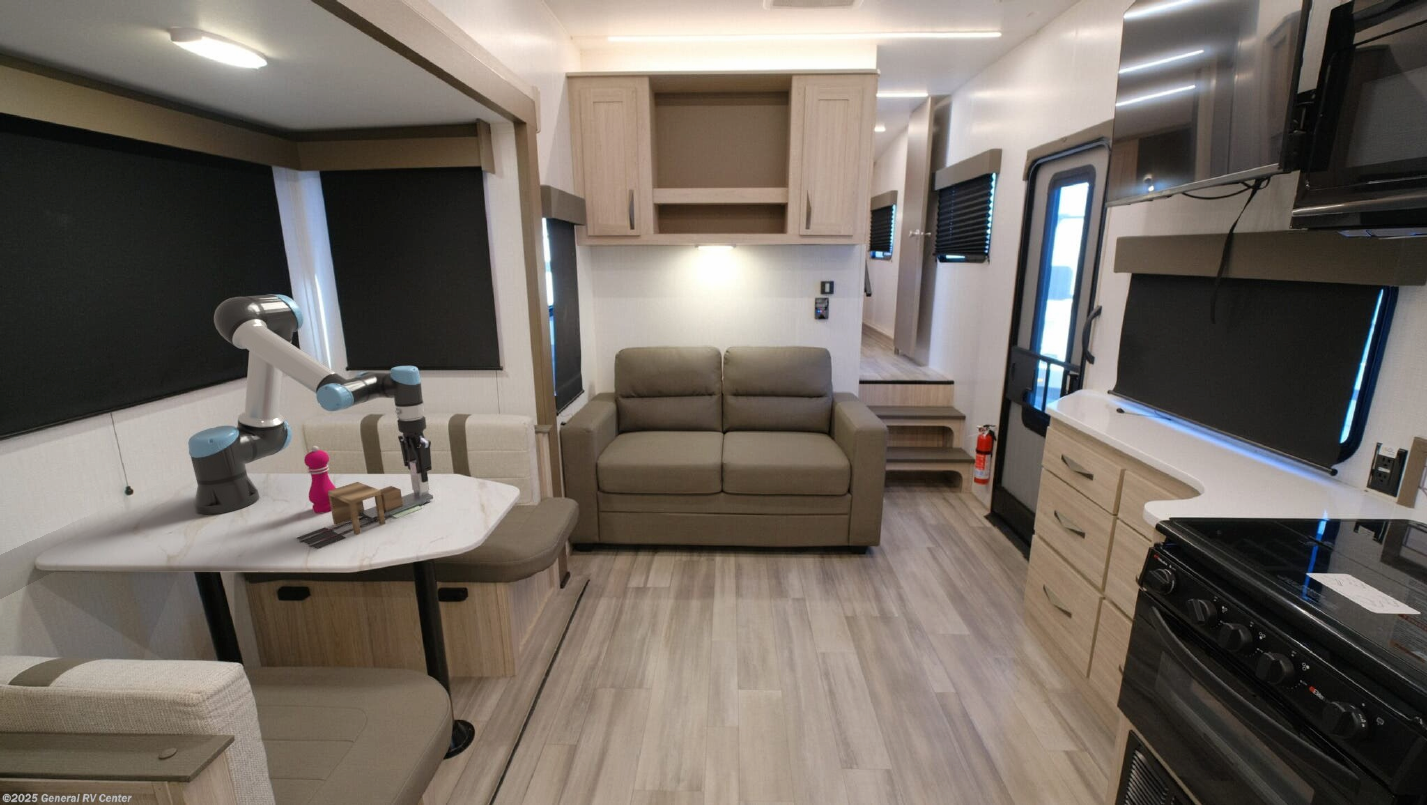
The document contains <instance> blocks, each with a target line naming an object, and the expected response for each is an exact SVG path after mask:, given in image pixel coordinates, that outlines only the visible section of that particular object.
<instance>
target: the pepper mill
mask: <svg viewBox="0 0 1427 805" xmlns="http://www.w3.org/2000/svg"><path fill="white" fill-rule="evenodd" d="M310 450H311V451H309V452H308V453H306V455H305V456H304V462H303V463H304V464H305V466H307V467H308V468H307V470H308V473H309V474H310V476H311V485H310V488H309V492H308V500H309V502H310V503H312V505H311V506H312V510H313V512H314V513H316V514H325V513H329V512H332V511H331V506H330V500H329V495H328V491H330V490H333V489H336V486H335V485H334V484H333V482H332V481H331V479H330V477H329V470H330V468H329V464H328V463H329V462H330V456H329V454H328V453H327V452H326V451H324V450H320V448H319V446H317V445H313V446H311V448H310Z"/></svg>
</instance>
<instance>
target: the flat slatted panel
mask: <svg viewBox="0 0 1427 805" xmlns="http://www.w3.org/2000/svg"><path fill="white" fill-rule="evenodd" d="M328 529H329V528H327V527H325V526H324V527H322V528H319V529H316V530H313V531H310V532H308V533H305V534H302V535H300V536H297V537H296V539H297V540H301V539H303V538H306V537H309V536H312V535H314V534H317V533H320V532H322V531H325V530H328ZM336 534H339V533H338V532H336V531H335V530H333V531H332V530H330V531H328V532H325V533H322V534H320V535H317V536H314V537H312V538H309V539H306V540H303V542H302V543H305V544H307V545H309V544H312V543H315V542H317V541H320V540H323V539H325V538H328V537H331V536H333V535H336ZM346 538H347V537H346V536H345V535H339V536H336V537H333V538H331V539H328V540H325V541H323V542H320V543H318V544H315V545H312V546H313V548H315V549H317V550H319V549H321V548H324V547H326V546H327V547H328V546H329V545H331V544H333V543H337V542H339V541H342V540H345V539H346Z"/></svg>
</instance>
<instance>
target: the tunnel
mask: <svg viewBox="0 0 1427 805" xmlns="http://www.w3.org/2000/svg"><path fill="white" fill-rule="evenodd" d="M328 495H329V500H330V506H331V511H330V512H331V516H332V522H333V526H339V525H341V524H344V523H347V522H350V521H352V524H351V525H352V528H353V531H352V532H353V534H354V535H356V536H357V535H359V534H361V533H362V531H361V528H360V525H361V524H360V521H359V519H358V518H360V517H361V516H360V514H359V512H361V511H364V510H365V507H364V501H366V500H369V499H371V498H374V503H375V506H376V509H377V515H378V525H380V526H383V525H385V524H386V519H385V517H384V511H383V504H382V498H381V491H380V489H378V488H375V487H372V486H370V485H368V484H367V485H366V484H365V483H362V482H359V481H355V482H353V483H349V484H345V485H343V486H340V487H337V488H336V489H333V490H330V491H328Z"/></svg>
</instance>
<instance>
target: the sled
mask: <svg viewBox="0 0 1427 805" xmlns="http://www.w3.org/2000/svg"><path fill="white" fill-rule="evenodd" d="M410 469H411V475H410V477H411V476H412V482H411V484H412V483H413V489H412V490H413V492H412V493H411V492H410V493H408V494H406V495H403V496H402V502H403V505H401V506H399V507H396V508H393V509H390V510H388V511H385V510H383V511H384V517H387V516H389V515H392V514H394V513H397V512H400V511H402V510H405V509H408V508H410V507H413V506H415V505H418V504H421V503H423V502H425V503H426V502H428V501H431V500H433V499H434V495H433V494H431V493H430V492H429V491H430V489H429V490H428V491H425V492H423V493H420V491H419V483H418V476H417V473H416V472H418V466H417V462H416V460H414V461H411V462H410ZM359 514H360V517H364V518H366V520H369V522H370V521H376V520H378V515H377V509H376V505H375V506H373V507H370V508H366V509H364V511H361V512H359Z"/></svg>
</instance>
